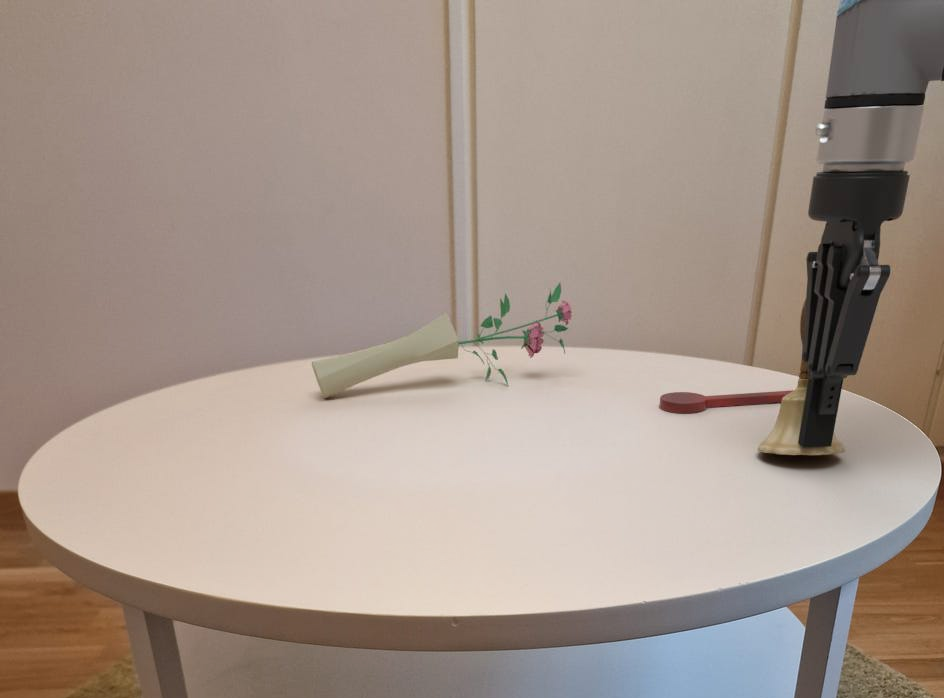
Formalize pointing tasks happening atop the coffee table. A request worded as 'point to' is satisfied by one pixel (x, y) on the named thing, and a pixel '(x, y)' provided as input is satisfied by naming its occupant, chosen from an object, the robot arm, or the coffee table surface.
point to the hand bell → (795, 419)
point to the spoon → (714, 400)
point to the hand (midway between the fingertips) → (814, 444)
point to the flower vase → (426, 349)
